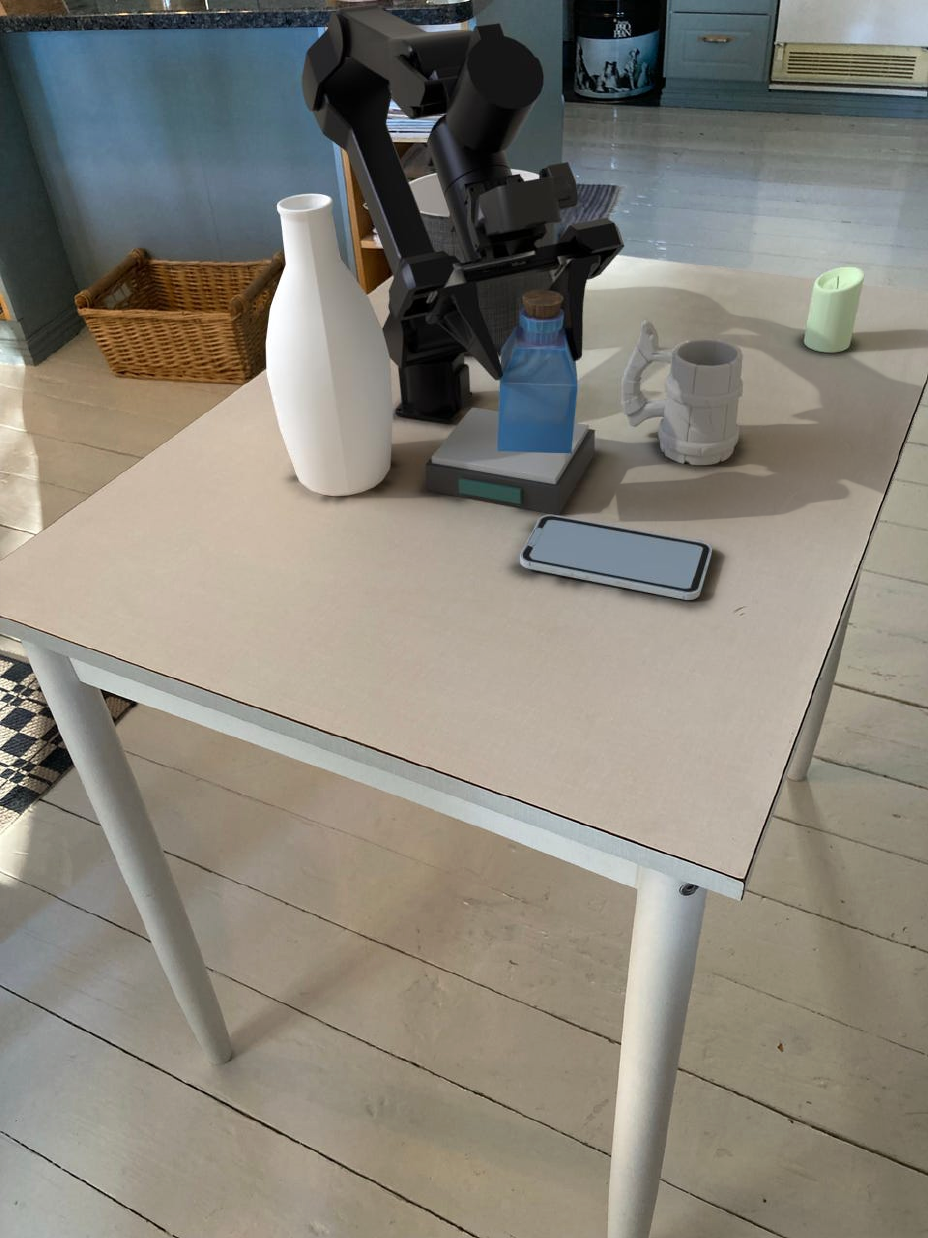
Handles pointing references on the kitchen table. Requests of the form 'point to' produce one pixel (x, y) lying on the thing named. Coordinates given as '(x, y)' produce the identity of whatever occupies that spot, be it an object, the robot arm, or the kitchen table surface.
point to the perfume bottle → (537, 380)
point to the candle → (833, 309)
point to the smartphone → (617, 556)
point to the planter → (494, 298)
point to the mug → (688, 396)
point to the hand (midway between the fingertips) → (539, 368)
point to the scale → (506, 466)
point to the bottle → (327, 359)
